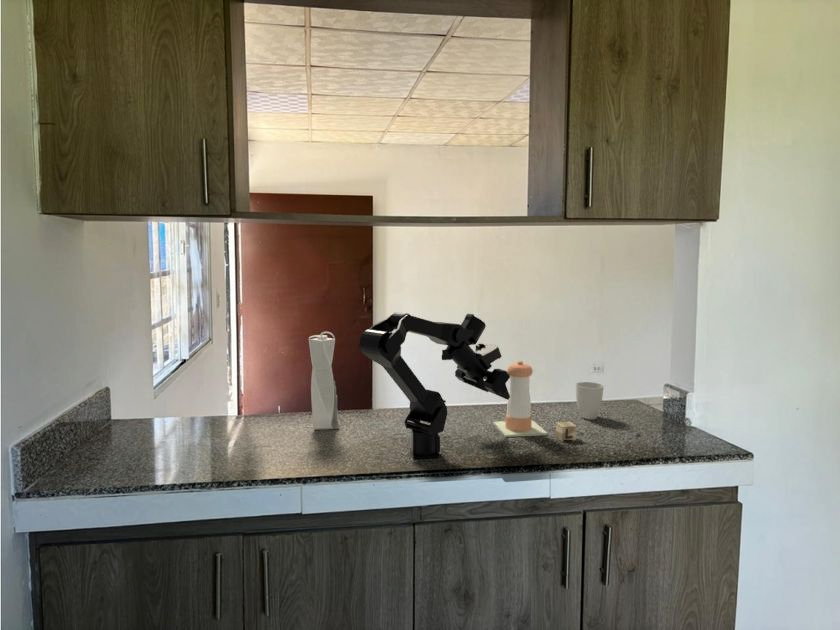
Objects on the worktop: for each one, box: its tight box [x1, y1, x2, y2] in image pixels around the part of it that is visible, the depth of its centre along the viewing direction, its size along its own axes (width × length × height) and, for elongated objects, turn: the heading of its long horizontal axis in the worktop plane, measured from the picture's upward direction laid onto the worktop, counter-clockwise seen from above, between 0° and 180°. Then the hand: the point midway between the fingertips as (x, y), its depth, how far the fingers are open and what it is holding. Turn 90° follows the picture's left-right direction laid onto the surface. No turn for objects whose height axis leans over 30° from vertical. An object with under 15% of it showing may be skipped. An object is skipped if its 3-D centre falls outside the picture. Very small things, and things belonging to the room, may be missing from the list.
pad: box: [492, 419, 549, 438], centre depth 159 cm, size 12×12×1 cm
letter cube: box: [555, 421, 577, 442], centre depth 151 cm, size 4×4×4 cm
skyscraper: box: [308, 331, 340, 431], centre depth 158 cm, size 8×8×28 cm
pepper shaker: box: [505, 360, 533, 431], centre depth 158 cm, size 7×7×19 cm
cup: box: [575, 381, 605, 420], centre depth 171 cm, size 8×8×10 cm
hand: (498, 394), depth 154 cm, fingers open, 9 cm apart
